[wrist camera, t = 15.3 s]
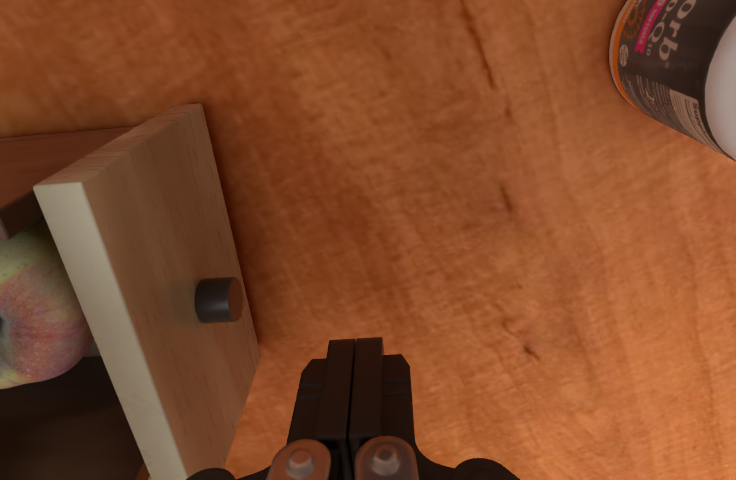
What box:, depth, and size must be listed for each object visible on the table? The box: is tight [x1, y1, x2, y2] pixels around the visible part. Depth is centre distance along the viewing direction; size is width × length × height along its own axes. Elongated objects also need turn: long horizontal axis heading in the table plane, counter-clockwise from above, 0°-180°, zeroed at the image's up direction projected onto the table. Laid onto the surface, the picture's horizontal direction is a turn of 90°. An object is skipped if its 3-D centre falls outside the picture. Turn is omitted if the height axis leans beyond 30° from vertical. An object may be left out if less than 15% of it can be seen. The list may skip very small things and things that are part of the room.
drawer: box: [0, 103, 261, 480], centre depth 19 cm, size 15×12×9 cm
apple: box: [0, 219, 94, 389], centre depth 19 cm, size 6×8×6 cm
